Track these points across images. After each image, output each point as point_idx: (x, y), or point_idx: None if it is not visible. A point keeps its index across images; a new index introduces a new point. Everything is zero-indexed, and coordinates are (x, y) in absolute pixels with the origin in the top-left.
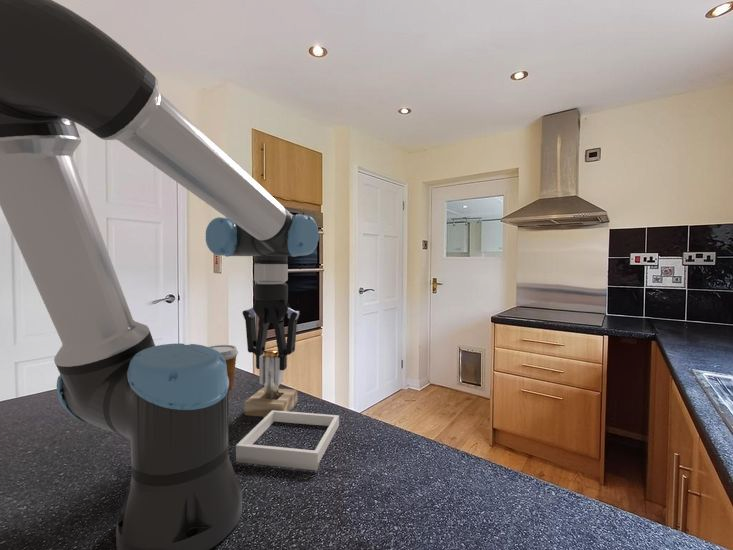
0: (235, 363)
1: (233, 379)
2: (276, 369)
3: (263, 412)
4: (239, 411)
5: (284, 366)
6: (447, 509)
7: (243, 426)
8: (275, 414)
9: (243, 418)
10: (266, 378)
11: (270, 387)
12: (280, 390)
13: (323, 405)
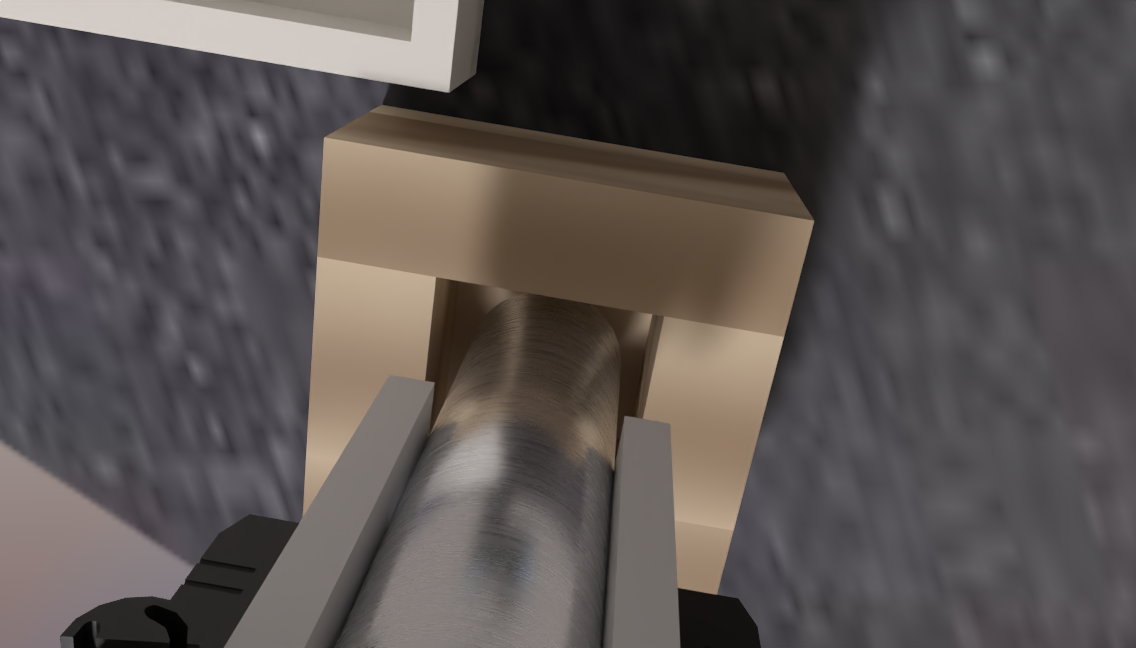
0: None
1: None
2: (353, 506)
3: (577, 157)
4: (886, 349)
5: (206, 556)
6: None
7: (752, 11)
8: (401, 38)
9: (802, 193)
10: (554, 443)
11: (508, 373)
12: None
13: (121, 464)
